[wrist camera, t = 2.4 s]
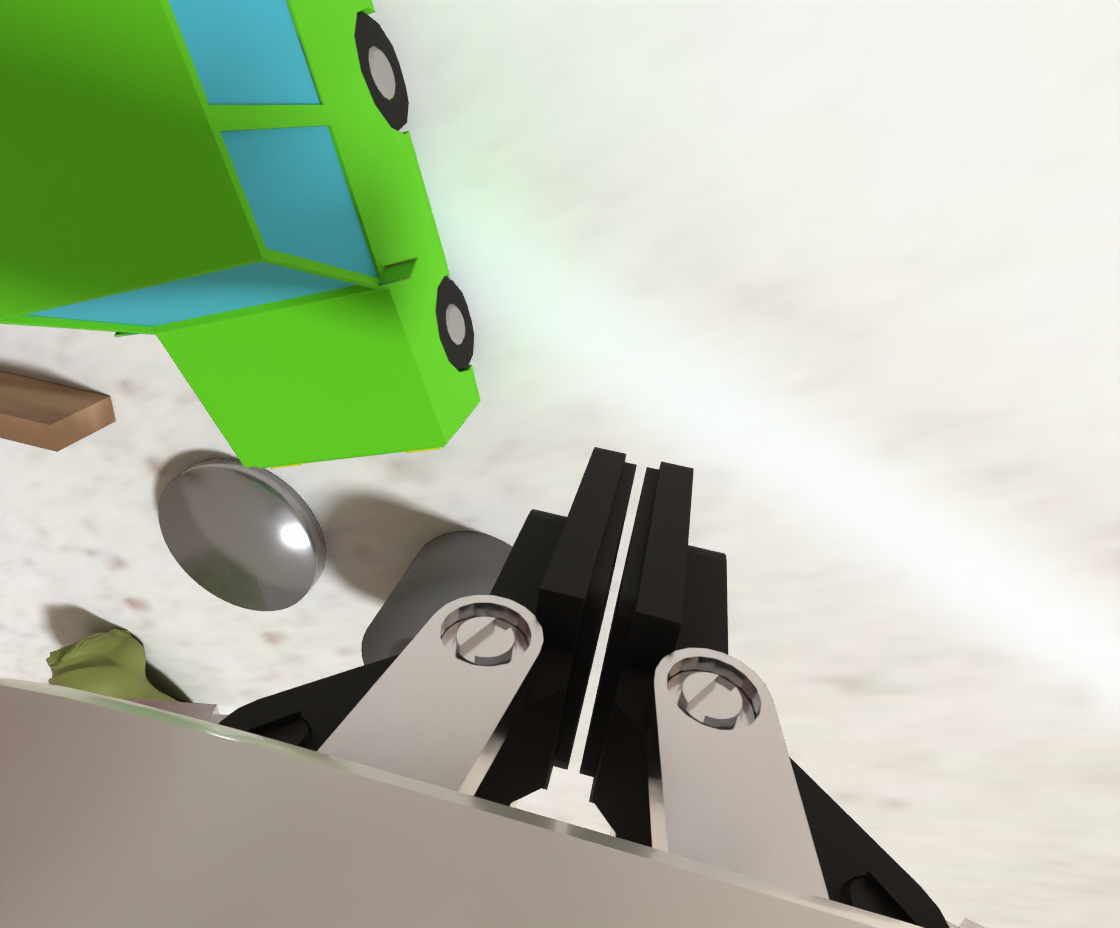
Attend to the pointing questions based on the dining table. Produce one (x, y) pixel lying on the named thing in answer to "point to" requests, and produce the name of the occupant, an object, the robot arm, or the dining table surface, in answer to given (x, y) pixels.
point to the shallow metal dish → (242, 534)
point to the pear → (105, 667)
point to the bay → (49, 412)
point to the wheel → (434, 588)
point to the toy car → (235, 215)
